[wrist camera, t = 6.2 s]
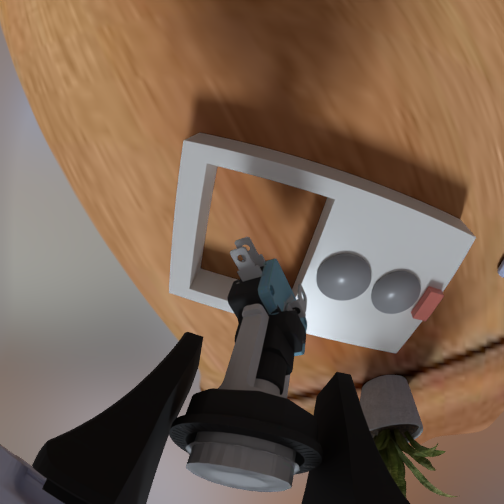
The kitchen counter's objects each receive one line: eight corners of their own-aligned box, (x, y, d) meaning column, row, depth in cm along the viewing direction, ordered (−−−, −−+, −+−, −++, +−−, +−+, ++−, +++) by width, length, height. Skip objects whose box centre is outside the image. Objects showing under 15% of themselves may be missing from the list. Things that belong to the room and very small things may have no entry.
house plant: (283, 395, 30) (257, 532, 16) (368, 326, 22) (376, 529, 9) (373, 423, 31) (370, 535, 18) (457, 369, 24) (481, 506, 10)
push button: (200, 248, 15) (99, 419, 7) (297, 214, 13) (260, 435, 5) (255, 336, 18) (213, 490, 9) (339, 317, 16) (335, 495, 7)
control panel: (460, 219, 16) (480, 242, 13) (391, 331, 22) (397, 359, 20) (199, 132, 17) (179, 142, 14) (181, 272, 23) (165, 297, 20)
